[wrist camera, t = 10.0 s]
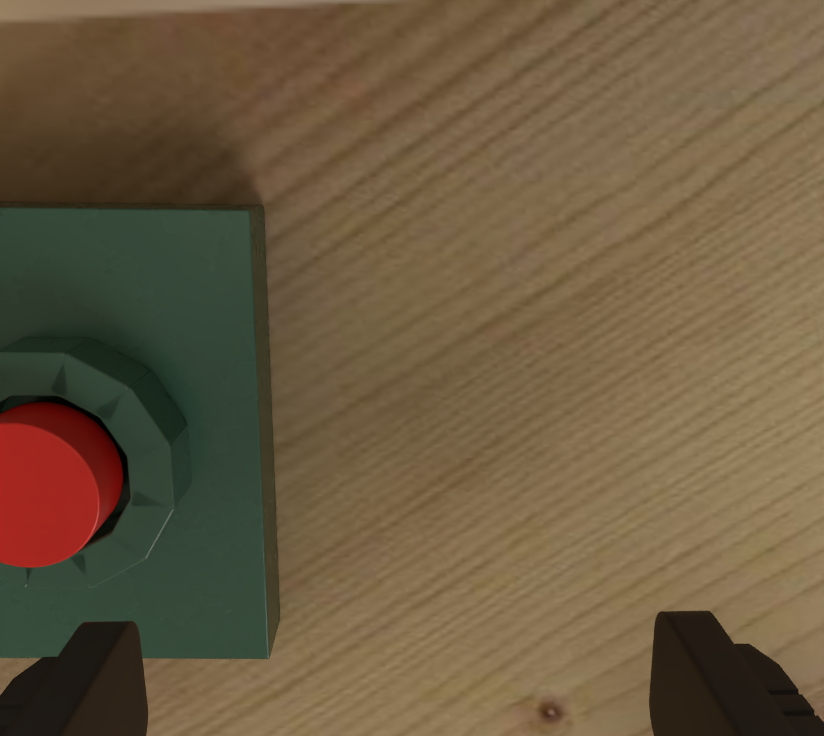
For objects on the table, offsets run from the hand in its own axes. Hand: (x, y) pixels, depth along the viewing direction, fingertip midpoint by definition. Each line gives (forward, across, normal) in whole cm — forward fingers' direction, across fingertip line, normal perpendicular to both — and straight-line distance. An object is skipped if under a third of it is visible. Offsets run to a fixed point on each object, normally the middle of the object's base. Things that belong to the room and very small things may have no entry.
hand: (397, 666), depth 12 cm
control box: (+13, +10, 0) cm, 16 cm away
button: (+10, +10, 0) cm, 14 cm away
